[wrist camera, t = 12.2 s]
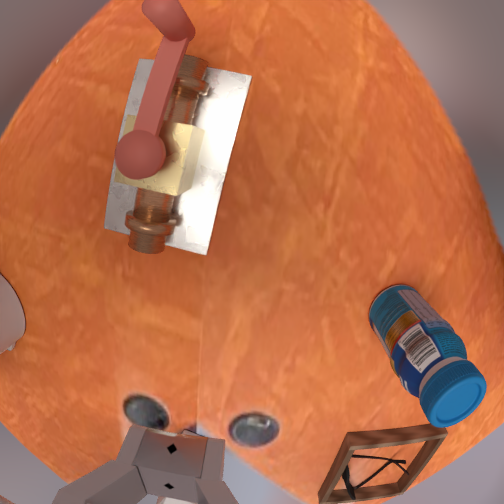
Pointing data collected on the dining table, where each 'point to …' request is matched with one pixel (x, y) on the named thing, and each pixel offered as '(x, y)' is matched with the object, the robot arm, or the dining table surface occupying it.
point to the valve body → (180, 160)
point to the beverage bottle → (427, 355)
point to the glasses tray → (377, 440)
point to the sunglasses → (351, 489)
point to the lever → (155, 92)
